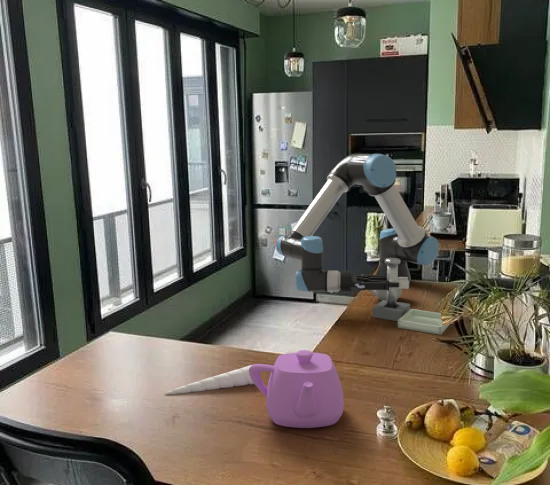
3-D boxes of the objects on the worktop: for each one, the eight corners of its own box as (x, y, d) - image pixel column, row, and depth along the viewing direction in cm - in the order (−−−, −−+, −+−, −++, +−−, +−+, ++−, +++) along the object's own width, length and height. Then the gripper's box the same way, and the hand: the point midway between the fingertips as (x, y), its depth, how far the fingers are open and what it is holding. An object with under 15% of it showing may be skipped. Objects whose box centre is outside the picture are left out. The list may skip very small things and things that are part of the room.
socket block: (382, 309, 197) (383, 300, 196) (409, 313, 192) (410, 304, 191) (372, 317, 189) (372, 307, 188) (400, 321, 183) (400, 311, 183)
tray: (410, 315, 190) (411, 308, 189) (451, 322, 182) (452, 314, 182) (397, 327, 178) (397, 320, 177) (440, 334, 171) (441, 327, 170)
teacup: (400, 295, 214) (401, 275, 212) (404, 303, 203) (404, 283, 202) (364, 295, 215) (365, 275, 214) (366, 303, 204) (366, 282, 203)
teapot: (251, 398, 131) (250, 339, 128) (339, 397, 131) (339, 338, 128) (245, 451, 109) (244, 381, 106) (351, 451, 108) (352, 380, 106)
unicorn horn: (163, 389, 137) (162, 371, 136) (255, 378, 143) (255, 361, 142) (164, 397, 132) (163, 379, 132) (259, 386, 138) (259, 368, 137)
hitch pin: (386, 309, 194) (388, 257, 190) (401, 312, 191) (402, 258, 187) (381, 313, 189) (382, 260, 185) (396, 316, 187) (397, 261, 183)
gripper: (340, 285, 199) (405, 286, 196) (339, 298, 183) (410, 300, 180) (340, 265, 198) (406, 266, 194) (339, 277, 182) (411, 278, 178)
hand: (408, 282), depth 187 cm, fingers closed on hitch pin, 4 cm apart
